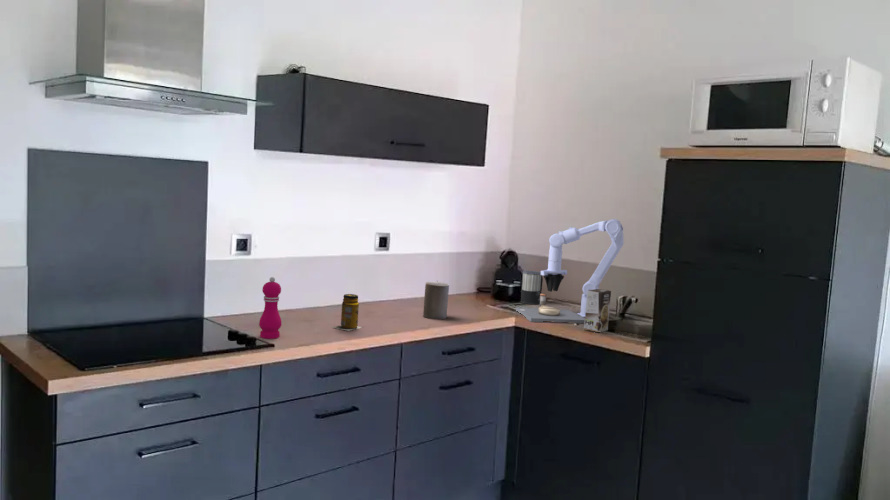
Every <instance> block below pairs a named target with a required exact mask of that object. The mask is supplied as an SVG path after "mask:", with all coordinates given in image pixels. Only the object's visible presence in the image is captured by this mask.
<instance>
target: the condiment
mask: <svg viewBox="0 0 890 500" xmlns="http://www.w3.org/2000/svg"><path fill="white" fill-rule="evenodd" d="M359 304H360V303H359V295H358V294H353V293H346V294H344V295H343V299H342V303H341V314H340V318H341V319H340V325H337V326H332V328H334V329H338V330H343V331H347V332H350V331H352V330H353V331H354V330H358V329H362V328H363V327H362V326H358V324H359V323H358V322H359V306H360V305H359Z"/></svg>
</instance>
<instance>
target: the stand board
mask: <svg viewBox="0 0 890 500" xmlns="http://www.w3.org/2000/svg"><path fill="white" fill-rule="evenodd" d="M559 309H560V315H544V314H540V313H538V311H539V307H515V311H516V312H517V311H518V312H519V313H521V314H523V315H524V316H525V317H526V318H525V317H524V316H523V317H524V318H525V319H526V320H528V322H531V323H544V322H543V321H554V322H574V323H573V324H580V323H584V324H585V317H582V316H580V315H578V314H577V313H575V312H574V311H572V310H570V309H567V308H565V309H564V308H559ZM518 312H517V313H518ZM519 313H518V314H519ZM521 314H520V315H521Z"/></svg>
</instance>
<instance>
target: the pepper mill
mask: <svg viewBox="0 0 890 500" xmlns="http://www.w3.org/2000/svg"><path fill="white" fill-rule="evenodd" d="M261 289H262V293H263V295H264V296H263V301H264V309H263V312H262V313H261V316H260V319H259V322H258V323H259V324H258V327H259V328H260V329H261V330H260V334H259V336H260V338H261V339H264V340H272V339H278V338H280V337H281V333H280V331H279V330H280V328H281V327H282V317H281V315H280V312H279V308H278V306H279V305H278V304H279V301H280V296H279V295H280V294H281V292H282V287H281V285H280V283H278V282H276V279H275V277H274V276H272V277H270V278H269V281H268V282H265V283H264V284H263V286H262V288H261Z"/></svg>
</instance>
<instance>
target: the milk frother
mask: <svg viewBox="0 0 890 500" xmlns="http://www.w3.org/2000/svg"><path fill="white" fill-rule="evenodd" d="M543 282H544V276H543V275H541V271H536V270H535V271H534V270H523V271H522V284H521V286H522V287H521V292H522V295H521V296H520V297H521V299H520V300H519V301H520V303H521V304H525V305H540V294H542V289H543Z"/></svg>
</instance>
